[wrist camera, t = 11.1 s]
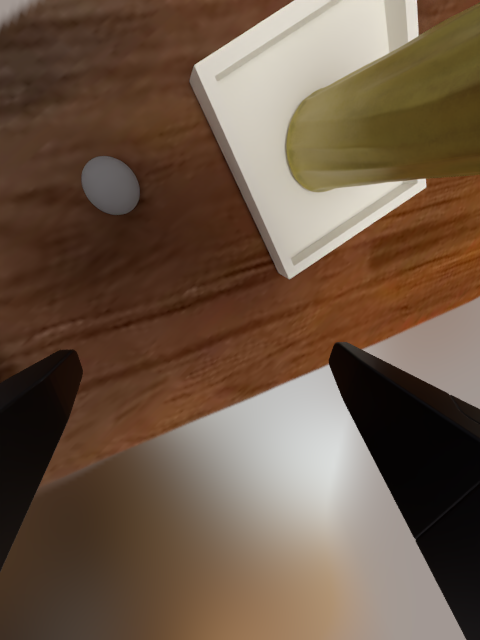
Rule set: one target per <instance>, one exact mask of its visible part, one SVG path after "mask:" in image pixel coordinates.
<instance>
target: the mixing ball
mask: <svg viewBox="0 0 480 640" xmlns="http://www.w3.org/2000/svg"><path fill="white" fill-rule="evenodd" d="M81 180H82V186H83V189H84V192H85V194H86V196H87V197H88V199H89V200H90V202H91V203H92V204H93V205H94V206H96V207H97V208H98V209H100V210H101V211H103V212H106V213H108V214H113V215H122V214H126V213H128V212H130V211H131V210H133V209H134V208H135V206H136V205H137V203H138V201H139V196H140V188H139V183H138V181H137V178H136V176H135V175H134V173H133V172H132V170H131V169H130V168H129V167H128V166H127V165H126V164H124V163H123V162H122V161H120V160H118V159H116V158H113V157H109V156H99V157H96V158H93V159H91V160H90V161H89V162H88V163H87V164H86V165H85V167H84V169H83V172H82V179H81Z"/></svg>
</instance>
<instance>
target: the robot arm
mask: <svg viewBox="0 0 480 640" xmlns="http://www.w3.org/2000/svg"><path fill="white" fill-rule="evenodd" d="M329 365H330V368H331V371H332V373H333V376H334V378H335V381H336V383H337V386H338V388H339V391H340V393H341V396H342V398H343V400H344V403H345V404H346V406H347V409H348V411H349V412H350V414H351V416H352V418H353V420H354V422H355V424H356V426H357V428H358V430H359V432H360V434H361V436H362V438H363V439H364V442H365V443H366V445H367V447H368V449H369V451H370V453H371V455H372V457H373V459H374V461H375V463H376V465H377V467H378V469H379V471H380V473H381V474H382V476H383V478H384V480H385V482H386V484H387V486H388V488H389V490H390V491H391V494H392V496H393V498H394V500H395V502H396V504H397V505H398V508H399V509H400V511H401V513H402V515H403V517H404V519H405V521H406V523H407V525H408V527H409V529H410V531H411V533H412V535H413V537H414V538H415V539H416V543H417V545H418V547H419V549H420V550H421V553H422V554H423V556H424V558H425V560H426V562H427V564H428V566H429V568H430V570H431V572H432V574H433V576H434V578H435V580H436V582H437V584H438V585H439V587H440V589H441V591H442V593H443V595H444V597H445V599H446V601H447V603H448V605H449V607H450V609H451V611H452V613H453V615H454V617H455V619H456V620H457V622H458V624H459V626H460V628H461V630H462V632H463V634H464V636H465V638H466V640H480V409H478V408H476V407H474V406H472V405H470V404H468V403H466V402H464V401H462V400H460V399H458V398H456V397H454V396H452V395H449V394H448V393H446V392H444V391H442V390H440V389H438V388H436V387H434V386H432V385H430V384H428V383H426V382H424V381H422V380H421V379H419V378H417V377H415V376H413V375H411V374H409V373H407V372H405V371H402V370H401V369H399V368H397V367H395V366H392V365H391V364H389V363H387V362H385V361H383V360H381V359H379V358H377V357H375V356H373V355H371V354H369V353H367V352H365V351H363V350H361V349H359V348H357V347H355V346H353V345H351V344H349V343H347V342H337V343H335V344H334V346H333V349H332V352H331V355H330V358H329ZM82 375H83V369H82V366H81V363H80V360H79V357H78V354H77V352H76V351H75V350H59V351H57V352H55V353H53V354H52V355H50V356H48V357H46V358H44V359H43V360H41V361H39V362H37V363H35V364H33V365H32V366H30V367H28V368H26V369H24V370H23V371H21V372H19V373H17V374H15V375H14V376H12V377H10V378H8V379H6V380H5V381H3V382H1V383H0V571H1V569H2V567H3V564H4V562H5V560H6V558H7V555H8V553H9V551H10V549H11V546H12V544H13V542H14V540H15V538H16V535H17V533H18V531H19V529H20V526H21V524H22V522H23V520H24V518H25V515H26V513H27V511H28V509H29V506H30V504H31V502H32V500H33V498H34V495H35V493H36V491H37V489H38V487H39V484H40V482H41V480H42V478H43V475H44V473H45V471H46V469H47V467H48V464H49V462H50V460H51V458H52V455H53V453H54V451H55V449H56V447H57V444H58V442H59V440H60V438H61V435H62V433H63V431H64V429H65V426H66V424H67V422H68V419H69V416H70V413H71V410H72V407H73V404H74V401H75V398H76V395H77V391H78V388H79V385H80V382H81V379H82Z"/></svg>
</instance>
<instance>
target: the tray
mask: <svg viewBox="0 0 480 640" xmlns="http://www.w3.org/2000/svg"><path fill="white" fill-rule="evenodd" d="M418 36H419V35H418V16H417V0H294V1H293V2H291V3H290V4H288V5H287V6H285V7H284V8H282V9H280V10H279V11H277V12H276V13H274V14H273V15H271V16H270V17H268V18H267V19H265V20H263V21H262V22H260V23H259V24H257V25H256V26H254V27H253V28H251V29H250V30H248V31H246V32H245V33H243V34H242V35H240V36H239V37H237V38H236V39H234V40H233V41H231V42H229V43H228V44H226V45H225V46H223V47H222V48H220V49H219V50H217V51H215V52H214V53H212V54H211V55H209V56H208V57H206V58H205V59H203V60H202V61H200V62H198V63H197V64H195V65H194V67H193V70H192V73H191V77H190V80H189V82H190V84H191V86H192V88H193V91H194V93H195V95H196V97H197V99H198V101H199V103H200V106H201V108H202V110H203V112H204V114H205V116H206V118H207V121H208V123H209V125H210V127H211V129H212V131H213V133H214V136H215V138H216V140H217V142H218V144H219V146H220V148H221V151H222V153H223V155H224V157H225V159H226V161H227V163H228V166H229V168H230V170H231V172H232V174H233V176H234V179H235V181H236V183H237V185H238V187H239V189H240V191H241V194H242V196H243V198H244V200H245V202H246V204H247V206H248V209H249V211H250V213H251V215H252V217H253V219H254V221H255V224H256V226H257V228H258V230H259V232H260V234H261V236H262V239H263V241H264V243H265V245H266V247H267V249H268V251H269V254H270V256H271V258H272V260H273V262H274V264H275V266H276V269H277V271H278V273H279V274H281V275H283V276H284V277H286V278H288V279H291V278H292V277H294V276H295V275H297V274H298V273H300V272H301V271H303V270H304V269H306V268H307V267H308V266H310V265H311V264H313V263H314V262H316V261H317V260H319V259H320V258H322V257H323V256H325V255H326V254H328V253H329V252H331V251H332V250H334V249H335V248H337V247H338V246H340V245H341V244H343V243H344V242H346V241H347V240H349V239H350V238H352V237H353V236H355V235H356V234H358V233H359V232H360V231H362V230H363V229H365V228H366V227H368V226H369V225H371V224H372V223H374V222H375V221H377V220H378V219H380V218H381V217H383V216H384V215H386V214H387V213H389V212H390V211H392V210H393V209H395V208H396V207H398V206H399V205H401V204H402V203H404V202H405V201H407V200H408V199H409V198H411V197H412V196H414V195H415V194H417V193H418V192H420V191H421V190H423V189H424V188H426V179H416V180H409V181H397V182H386V183H379V184H371V185H362V186H353V187H342V188H335V189H332V190H329V191H326V192H312V191H309V190H307V189H305V188H304V187H302V186H301V185H300V184H299V183H298V182H297V181H296V179H295V178H294V176H293V173H292V171H291V169H290V166H289V163H288V159H287V152H286V142H287V134H288V129H289V125H290V122H291V120H292V117H293V115H294V113H295V111H296V110H297V108H298V107H299V105H300V104H301V102H302V101H303V100H304V99H305V98H307V97H308V96H309V95H311V94H312V93H313V92H315V91H317V90H318V89H320V88H324V87H327V86H329V85H331V84H332V83H334V82H336V81H337V80H339V79H341V78H343V77H345V76H346V75H348V74H350V73H352V72H354V71H356V70H358V69H359V68H361V67H363V66H365V65H367V64H369V63H371V62H373V61H375V60H377V59H379V58H381V57H383V56H384V55H386V54H388V53H390V52H392V51H394V50H396V49H398V48H399V47H401V46H403V45H405V44H406V43H408V42H409V41H411V40H413V39H414V38H416V37H418Z"/></svg>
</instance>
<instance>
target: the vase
mask: <svg viewBox="0 0 480 640" xmlns="http://www.w3.org/2000/svg"><path fill="white" fill-rule="evenodd" d="M286 152H287V159H288V163H289V166H290V169H291V171H292V173H293V176H294V178H295V179H296V181H297V182H298V183H299V184H300V185H301V186H302V187H304V188H305V189H307V190H309V191H312V192H326V191H329V190H332V189H335V188H342V187H353V186H362V185H371V184H379V183H386V182H397V181H409V180H416V179H427V178H442V177H456V176H469V175H480V3H478V4H476V5H475V6H473V7H471V8H469V9H467V10H465V11H463V12H461V13H459V14H457V15H455V16H453V17H451V18H449V19H447V20H445V21H443V22H441V23H439V24H438V25H436V26H434V27H433V28H431V29H429V30H428V31H426V32H424V33H423V34H421V35H419V36H418V37H416V38H414V39H413V40H411V41H409V42H408V43H406V44H405V45H403V46H401V47H399V48H398V49H396V50H394V51H392V52H390V53H388V54H386V55H384V56H383V57H381V58H379V59H377V60H375V61H373V62H371V63H369V64H367V65H365V66H363V67H361V68H359V69H358V70H356V71H354V72H352V73H350V74H348V75H346V76H345V77H343V78H341V79H339V80H337V81H336V82H334V83H332V84H331V85H329V86H327V87H324V88H320V89H318V90H317V91H315V92H313V93H312V94H311V95H309V96H308V97H307V98H305V99H304V100H303V101H302V102H301V104H300V105H299V107H298V108H297V110H296V111H295V113H294V115H293V117H292V120H291V122H290V125H289V129H288V134H287V142H286Z"/></svg>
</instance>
